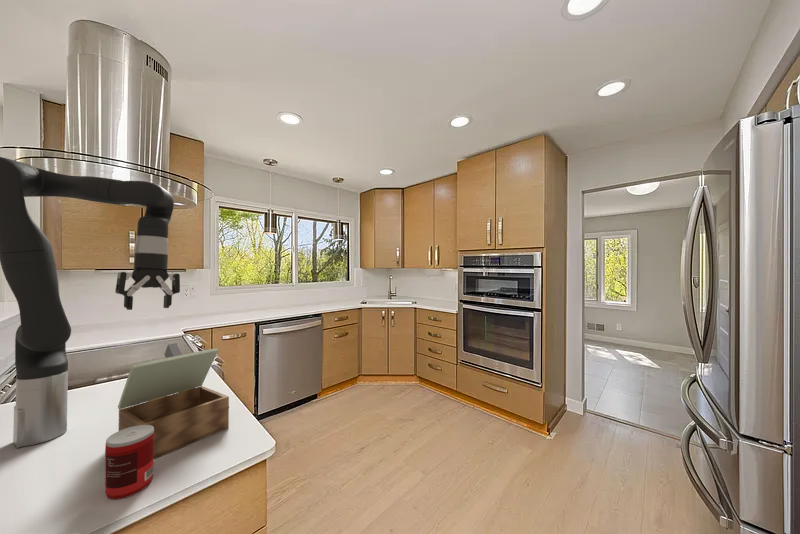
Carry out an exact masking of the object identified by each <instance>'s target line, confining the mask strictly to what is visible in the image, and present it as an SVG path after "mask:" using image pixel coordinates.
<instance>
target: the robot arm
mask: <svg viewBox="0 0 800 534" xmlns="http://www.w3.org/2000/svg"><path fill="white" fill-rule="evenodd" d="M32 197H34V198H35V197H42V198H43V197H55V198H57V197H60V198H71V199H78V200H83V201H87V202H88V201H89V202H94V203H102V204H108V205H110V204H111V205H118V206H127V205H131V204H132V205H136V206H142V207H143V206H144V207H145V213H144V215H143V216H140V217H139V218H138V220H137V229H136V230H137V231H136V239H135V244H134V249H133V250H134V251H133V252H134V258H133V270H132V272H126V271H119V272H118V273H117V279H116V284H115V294H117V295H122V296H124V297H123V307H124V308H125V309H126V310H127V311H132V310H133V304H134V296H133V295H134V294H135V293H136V292H137V291H138V290H140V288H143V289H144V288H147V289H149V288H152V289H153V288H154V289H155V288H159V289H160V290H161V291H162V292H163V294H164V295H163V306H162V307H163V309H169V308H170V306H172V304H173V303H172V302H173V300H172V299H173V296H174V295H175V294H179V293H180V291H181V278H180V274H179V273H168V262H169V261H168V259H169V224H170V221H171V218H172V215H173V211H174V206H175V205H174V203H175V202H174V198H173V195H172V194H171V192H169V190H167V189H165V188H164V187H162V186H161V185H159V184H157V183H154V182H150V181H145V180H144V181H143V180H122V179H115V178H110V177H109V178H106V177H100V176H93V175H92V176H89V175H88V176H87V175H82V176H81V175H68V174H62V173H58V172H53V171H49V170H45V169H41V168H39V167H35V166H32V165H30V164H28V163H25V162H21V161H17V160H14V159H11V158H8V157H7V158H6V157H2V156H0V266H1V269H2V273H3V275H4V277H5V280H6V283H7V284H8V286H9V288H10V290H11V293H12V294H13V295H14V297H15V299H16V301H17V302H16V303H17V305H18V311H19V319H20V325H19V326H18V327H17V329H16V331H15V337H14V338H15V339H14V341H15V343H14V358H15V359H14V365H15V373H16V375H15V376H16V377H15V378H16V379H15V381H16V383H15V405H14V406H13V429H12V430H13V434H12V436H13V439H12V442H13V444H14V446H15V447H16V449H19V448H21V447H27V446H28V447H29V446H32V445H37V444H41V443H45V442H48V441H51V440H54V439H55V438H58V437H60V436H62V435H64V434H65V433H66V432H67V431H68V429H67V428H68V395H69V394H68V390H69V389H68V386H69V385H68V384H69V383H68V382H69V361H68V356H67V352H66V351H67V350H66V348H67V346H66V344H67V342H68V340H69V339H70V337H71V336H72V335H71V334H72V327H71V325H70V323H69V320H68V317H67V315H66V313H65V312H66V311H65V309H64V307H63V303H62V301H61V297H60V291H59V289H60V287H59V279H58V272H57V264H56V260H55V253H54V250H53V247H52V243H51V242H50V240H49V239H48V236H46V235H45V233H44V232H43V230H42V229H41V228H40V227H39V225H37V223H36V222H35V221H34V220H33V219H32V216H31V215H30V213H29V210H28V209H27V205H26V201H25V198H32ZM130 278H132V280H133V281H134V282H133V283H132V284H131V285H130V286H129V287H128V289H127V290H125V288H126V281H128V280H129V279H130ZM168 278H169V280H170V281H171V288H170V286H169V285H168V284H167V283H166V281H167V280H168Z"/></svg>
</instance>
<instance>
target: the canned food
mask: <svg viewBox="0 0 800 534" xmlns="http://www.w3.org/2000/svg"><path fill="white" fill-rule="evenodd" d="M104 454H105V455H104V457H105V458H104V461H105V462H104V463H105V464H104V493H105V496H106V497H107V498H108V499H110V500H119V499H121V500H122V499H125V498H129V497H131V496H133V495H135V494H137V493H139V492H141V491H143V490H144V489H145V488H147V487H148V486H149V485H150V484H151V483H152V480H153V479H154V473H155V472H154V470H155V469H154V465H155V462H154V461H155V460H154V427H153V426H151V425H138V426H133V427H129V428H126V429H123V430H120V431H119V430H118V431H117V432H114V433H112V434H111V435H109V436H108V437H107V438H106V441H105V450H104Z"/></svg>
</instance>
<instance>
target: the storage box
mask: <svg viewBox="0 0 800 534" xmlns="http://www.w3.org/2000/svg"><path fill="white" fill-rule="evenodd" d="M229 407H230V396H228V395H226V394H224V393H220V392H218V391H216V390H214V389H210V388H208V387H206V386H203V385H202V386H199V387H196V388H193V389H190V390H186V391H183V392H179V393H175V394H171V395H168V396H166V397H162V398H159V399H155V400H152V401H147V402H144V403H140V404H137V405H133V406H130V407H126V408H123V409H120V410H119V409H118V431H120V430H123V429H126V428H129V427H133V426H138V425H151V426H153V427H154V461H155V460H157V459H159V458H161V457H164V456H166V455H168V454H171V453H173V452H176V451H178V450H181V449H182V448H185V447H187V446H189V445H193V444H194V443H196V442H199V441H202V440H204V439H206V438H208V437H211V436H213V435H215V434H218V433H220V432H222V431H224V430H227V429H229V427H230V426H229V425H230V424H229V422H230V421H229V418H230V417H229V416H230V415H229V413H230V411H229V410H230V409H229Z"/></svg>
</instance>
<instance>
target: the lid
mask: <svg viewBox="0 0 800 534" xmlns="http://www.w3.org/2000/svg"><path fill="white" fill-rule="evenodd" d="M218 352H219V349H218V348H217V347H215V348H210V349H205V350H200V351H199V350H198V351H195V352H190V353H189V352H188V353H184V354H182V352H181V350H180V347H179V345H178V343H176V342H174V343H169V344H167V346H166V349H165V351H164V354H163V355H164V358H160V359H155V360H149V361H144V362H140V363H139V362H138V363H134V364H131V368H130V371H129V373H128V376H127V379H126V382H125V385H124V388H123V390H122V393H121V396H120V399H119V402H118V406H117V409H118V411H119V410H121V409H124V408H128V407H131V406H135V405H138V404H141V403H145V402H148V401H151V400H154V399H158V398H161V397H165V396H169V395H172V394H176V393H178V392H182V391H185V390H189V389H192V388H197V387H200V386H203V384H204V382H205V379H206V378H207V375H208V374H209V371H210V369H211V366H212V364H213V363H214V361H215V358H216V356H217V354H218Z"/></svg>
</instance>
